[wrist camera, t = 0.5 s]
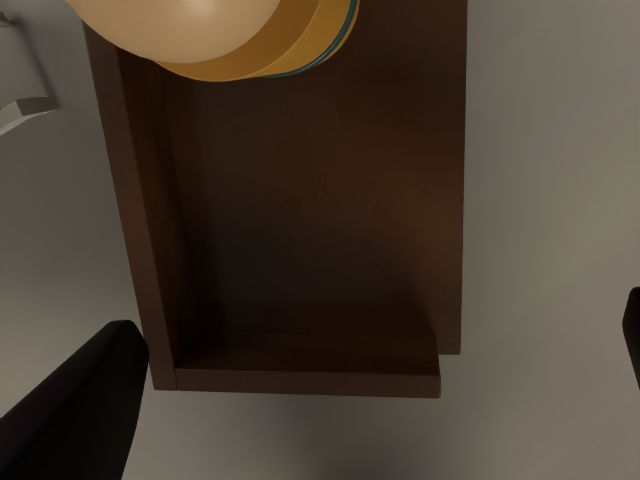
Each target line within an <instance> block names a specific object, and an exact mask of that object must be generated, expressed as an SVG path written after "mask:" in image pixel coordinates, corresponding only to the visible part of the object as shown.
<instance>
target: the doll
mask: <svg viewBox="0 0 640 480" xmlns="http://www.w3.org/2000/svg"><path fill="white" fill-rule="evenodd" d="M66 2H67V3H68V4H69V5H70V7H71V8H72V9H73V10H74V12H75V13H76V14H77V15H78V16H79V17H80V18H81V19H82V20H83V21H84V22H85V23H86V24H87V25H89V26H90V27H91V28H92V29H93V30H95V31H96V32H97V33H98V34H100V35H101V36H102V37H103V38H105V39H106V40H108V41H110V42H111V43H113V44H115V45H116V46H118V47H120V48H122V49H124V50H126V51H128V52H131V53H133V54H135V55H138V56H140V57H143V58H147V59H150V60H153V61H154V62H156V63H157V64H159V65H161V66H162V67H164V68H166V69H167V70H170V71H172V72H174V73H177V74H179V75H181V76H185V77H188V78H192V79H195V80H202V81H209V82H225V81H232V80H239V79H246V78H252V77H282V76H289V75H294V74H297V73H301V72H303V71H306V70H308V69H310V68H312V67H314V66H316V65H318V64H320V63H322V62H323V61H325V60H327V59H328V58H329V57H331V56H332V55H333V54H334V53H335V52H336V51H337V50H338V49H339V48H340V47H341V46H342V44H343V43H344V42H345V40H346V39H347V38H348V36H349V34H350V32H351V30H352V28H353V26H354V23H355V21H356V18H357V14H358V10H359V4H360V0H66Z"/></svg>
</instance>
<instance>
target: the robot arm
mask: <svg viewBox="0 0 640 480" xmlns="http://www.w3.org/2000/svg"><path fill="white" fill-rule="evenodd" d="M622 327H623V333H624V337H625V341H626V344H627V348H628V351H629V355H630V358H631V361H632V365H633V368H634V372H635V375H636V379H637V382H638V386H639V389H640V287H635V288H633V289H632V290H631V291H630V294H629V297H628V301H627V305H626V309H625V313H624V317H623V322H622ZM148 363H149V348H148V345H147V343H146V341H145V340H144V338H143V336H142V335H141V333H140V331H139V330H138V328H137V326H136V325H135V323H134V322H132V321H131V320H118V321H111V322H109V323H108V324H106V325H105V326H104V327H103V328H102V329H101V330H100V331H99V332H97V333H96V334H95V335H94V336H93V337H92V338H91V339H90V340H88V341H87V342H86V343H85V344H84V345H83V346H82V347H81V348H79V349H78V350H77V351H76V352H75V353H74V354H73V355H71V356H70V357H69V358H68V359H67V360H66V361H65V362H64V363H62V364H61V365H60V366H59V367H58V368H57V369H56V370H55V371H53V372H52V373H51V374H50V375H49V376H48V377H47V378H46V379H44V380H43V381H42V382H41V383H40V384H39V385H38V386H37V387H35V388H34V389H33V390H32V391H31V392H30V393H29V394H28V395H26V396H25V397H24V398H23V399H22V400H21V401H20V402H19V403H17V404H16V405H15V406H14V407H13V408H12V409H11V410H10V411H8V412H7V413H6V414H5V415H4V416H3V417H2V418H1V419H0V480H121V478H122V475H123V472H124V468H125V465H126V462H127V458H128V455H129V451H130V448H131V445H132V441H133V438H134V434H135V430H136V426H137V421H138V417H139V411H140V406H141V400H142V395H143V390H144V384H145V379H146V373H147V368H148Z"/></svg>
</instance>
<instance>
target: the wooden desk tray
mask: <svg viewBox="0 0 640 480" xmlns="http://www.w3.org/2000/svg"><path fill="white" fill-rule="evenodd" d="M467 5H468V0H360V4H359V10H358V14H357V18H356V21H355V23H354V26H353V28H352V30H351V32H350V34H349V36H348V38H347V39H346V40H345V42H344V43H343V44H342V46H341V47H340V48H339V49H338V50H337V51H336V52H335V53H334V54H333V55H332V56H331V57H329V58H328V59H327V60H325V61H323V62H322V63H320V64H318V65H316V66H314V67H312V68H310V69H308V70H306V71H303V72H301V73H297V74H294V75H289V76H282V77H252V78H246V79H239V80H232V81H225V82H209V81H202V80H195V79H192V78H188V77H185V76H181V75H179V74H177V73H174V72H172V71H170V70H167V69H166V68H164V67H162V66H161V65H159V64H157V63H156V62H154V61H153V60H150V59H147V58H143V57H140V56H138V55H135V54H133V53H131V52H128V51H126V50H124V49H122V48H120V47H118V46H116V45H115V44H113V43H111V42H110V41H108V40H106V39H105V38H103V37H102V36H101V35H100V34H98V33H97V32H96V31H95V30H93V29H92V28H91V27H90V26H89V25H87V24H86V23H85V22H84V21H83V20H82V19H81V20H82V25H83V30H84V35H85V40H86V45H87V50H88V55H89V60H90V65H91V71H92V76H93V81H94V86H95V91H96V96H97V101H98V106H99V111H100V116H101V121H102V126H103V132H104V137H105V142H106V147H107V152H108V157H109V162H110V167H111V172H112V177H113V182H114V187H115V193H116V198H117V203H118V208H119V213H120V218H121V223H122V228H123V233H124V238H125V243H126V248H127V254H128V259H129V264H130V269H131V274H132V279H133V284H134V289H135V294H136V299H137V304H138V309H139V315H140V320H141V325H142V330H143V335H144V340H145V341H146V343H147V345H148V348H149V365H150V371H151V376H152V381H153V386H154V390H169V391H177V390H179V391H205V392H238V393H271V394H304V395H338V396H371V397H404V398H438V399H439V398H440V397H441V374H440V366H439V358H438V355H460V351H461V302H462V253H463V203H464V154H465V104H466V55H467Z"/></svg>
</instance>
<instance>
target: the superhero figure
mask: <svg viewBox="0 0 640 480" xmlns="http://www.w3.org/2000/svg"><path fill="white" fill-rule="evenodd" d="M7 26H12V24H11V23H10V21H9V20H8V19H7V18H6V16H5V15H4V14H3V12H2V11H0V27H7ZM58 109H59V108H58V107H57V106H56V105H55V103H54V102H53V101H52V100H51V98H50V97H31V98H26V99H20V100H15V101H13V102H12V103H10V104H8V105H6V106H5V107H3V108H1V109H0V136H1V135H2V134H4V133H6V132H7V131H9V130H11V129H12V128H14V127H16V126H17V125H19V124H21V123H22V122H24V121H26V120H27V119H29V118H32V117H35V116H38V115H42V114H45V113H48V112H52V111H55V110H58Z"/></svg>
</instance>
